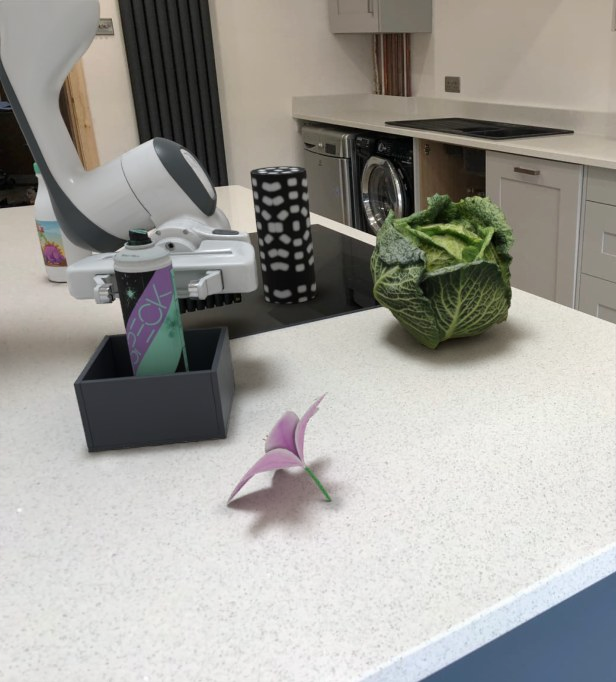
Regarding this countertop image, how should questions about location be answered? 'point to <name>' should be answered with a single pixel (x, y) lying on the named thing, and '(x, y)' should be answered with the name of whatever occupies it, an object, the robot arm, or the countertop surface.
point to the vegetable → (445, 268)
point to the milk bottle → (53, 237)
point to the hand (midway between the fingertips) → (149, 294)
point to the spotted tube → (284, 233)
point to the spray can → (150, 306)
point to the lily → (284, 447)
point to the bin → (156, 395)
